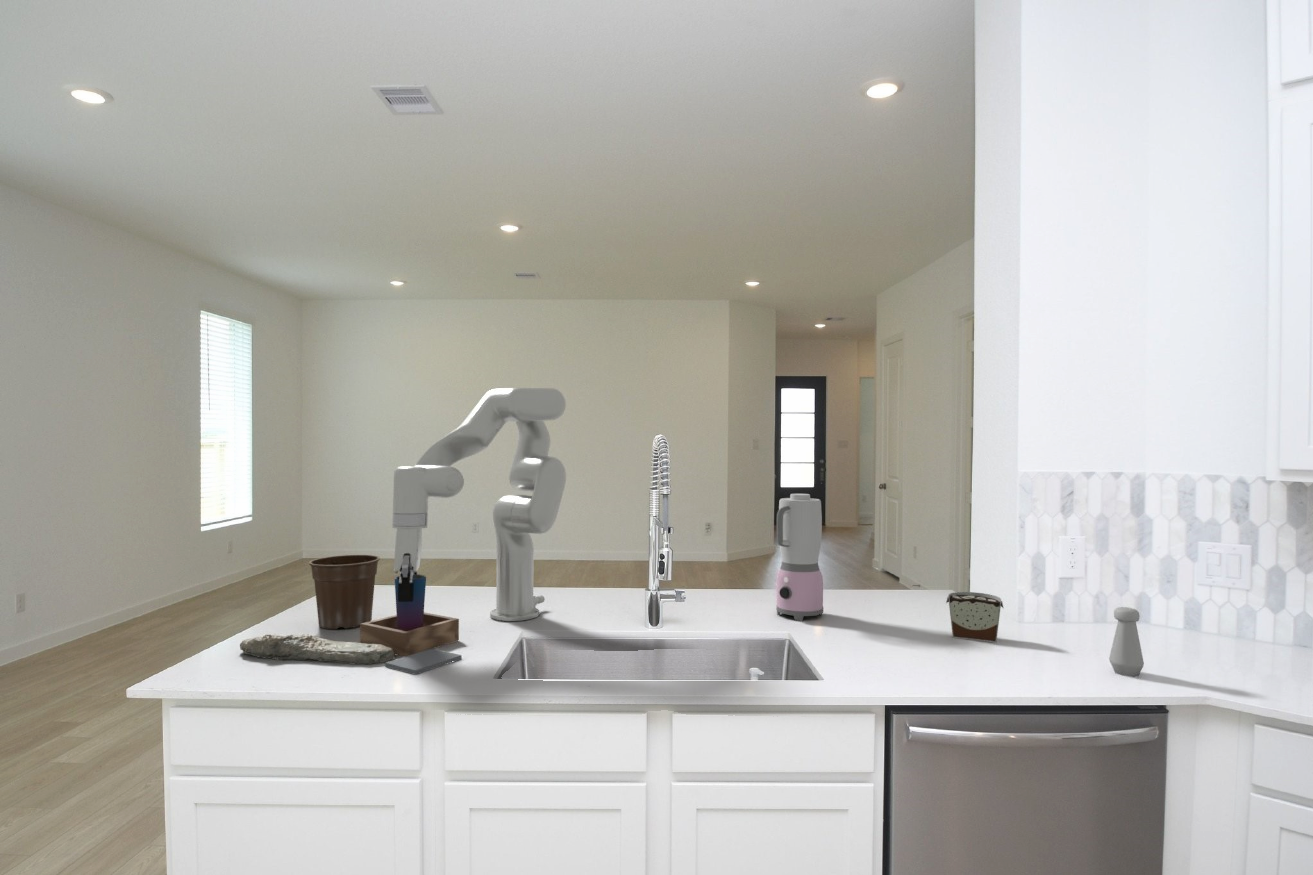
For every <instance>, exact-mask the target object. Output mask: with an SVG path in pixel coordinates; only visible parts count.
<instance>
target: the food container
mask: <svg viewBox="0 0 1313 875" xmlns="http://www.w3.org/2000/svg"><path fill="white" fill-rule="evenodd" d="M945 604H948V606H949V607H948V608H949V614H950V615H949V616H950V625H951V634H952V638H953V637H954V639H962V638H963V640H972V641H979V642H980V641H981V642H990V643H997V640H998V633H999V632H998V631H999V622H1000V617H1001V616H1000V615H1001V608H1002V609H1005V608H1004V604H1003V600H1002V598H1001V597H1000V596H997V595H993V594H991V593H989V594H988V593H984V592H983V593H982V592H975V591H974V592H973V591H972V592H971V591H954V592H951V593H948V596H947V597H946V602H945Z"/></svg>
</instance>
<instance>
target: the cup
mask: <svg viewBox="0 0 1313 875" xmlns="http://www.w3.org/2000/svg"><path fill="white" fill-rule="evenodd" d="M399 577H400V575H397V576H395V577H394V593H395V607H396V608H395V609H396V611H395V612H396V615H397V630H402V631H409V630H413V629H417V628H420V627H423V616H424V612H425V599H426V598H425V597H426V586H427V575H425V574H418V573H417V574H413V583H414V598H413V601H412V602H398V583H399Z"/></svg>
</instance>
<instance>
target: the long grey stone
mask: <svg viewBox="0 0 1313 875" xmlns="http://www.w3.org/2000/svg"><path fill="white" fill-rule="evenodd" d="M239 648H240V650H241V651H242V652H243V654H244V655H251V656H253V657H256V656H259V657H258V658H260V657H265V659H271V658H273V659H276V660H282V661H284V660H283V659H285V660H287V659H288V660H293V661H305V660H308V659H310V660H314V661H317V660H318V661H319V662H320V661H324V662H337V663H340V664H341V663H342V664H349V663H355V664H354V665H363V664H365V665H368V664H369V665H371V664H372V665H373V664H375V665H376V663H379V664H385V663H386V662H388V661H393V660H394V658H395V657H394V656H395V655H394V652H393V649H392V648H389V647H386V646H384V645H381V644H366V643H360V642H355V641H339V640H338V641H336V640H331V639H328V638H327V639H326V638H322V637H318V636H315V635H312V634H309V633H306V634H302V635H299V634H297V635H296V634H295V635H294V634H289V635H279V634H278V635H277V634H265V635H263V636H256V637H251V638H246V639H242V641H241V642H240V644H239ZM273 659H272V660H273Z"/></svg>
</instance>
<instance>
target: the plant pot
mask: <svg viewBox="0 0 1313 875" xmlns="http://www.w3.org/2000/svg"><path fill="white" fill-rule="evenodd" d="M380 559H381V558H380V556H378V555H373V554H345V555H335V556H334V555H333V556H325V557H320V558H315V559H312V560H310V561H309V562H308V563H309V566H311V567H310V568H311V576H312V579H313V581H314V583H313V584H314V591H315V600H316V610H317V619H318V621H317V622H318V626H319V627H320V628H322V629H325V630H337V629H339V628H344V629H353V628H360V624H361V623H365V622H369V621H373V620H372V618H373V606H374V596H375V595H374V593H375V592H374V591H375V582H376V575H377V573H378V565H379V564H378V563H379V561H380Z"/></svg>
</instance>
